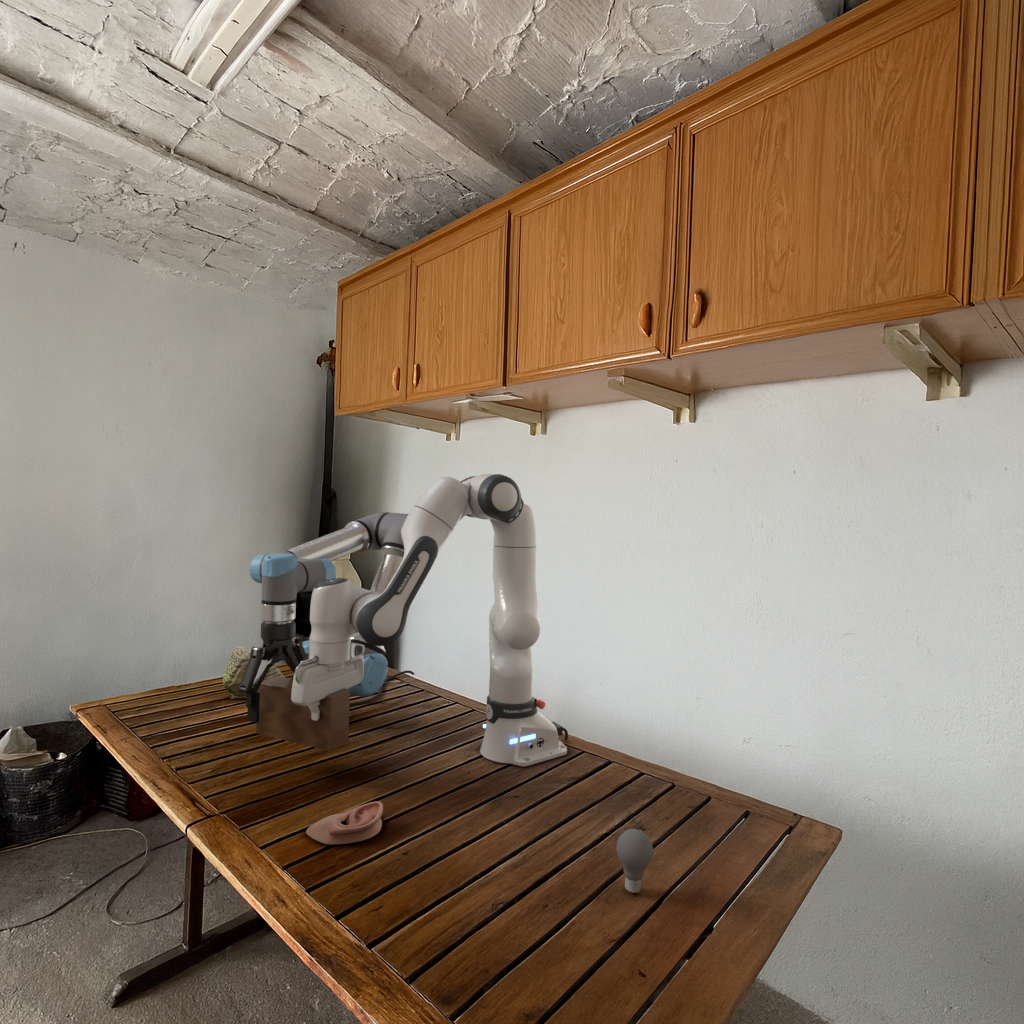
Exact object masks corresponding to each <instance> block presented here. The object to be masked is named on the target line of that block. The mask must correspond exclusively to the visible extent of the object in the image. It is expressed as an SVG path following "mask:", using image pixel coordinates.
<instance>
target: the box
mask: <svg viewBox="0 0 1024 1024" xmlns="http://www.w3.org/2000/svg"><path fill="white" fill-rule="evenodd" d="M292 684H293V679H292V678H289V677H285V676H284V677H280V676H276V677H273V678H270V679H267V680H264V681H263V682H262V683H261V685H260V687H259V689H258V691H257V692H258V693H260V708H259V722H258V723H255V734H257V735H261V736H265V737H270V738H273V739H276V740H277V739H278V740H282V741H285V742H290V743H295V744H298V745H303V746H306V747H310V748H315V749H320V750H323V751H328V752H332V751H333V750H335V749H337V748H339V747H341V746H343V745H344V744H347V743H348V742H349V739H350V738H349V737H350V732H349V731H350V706H349V703H351V701H350V699H351V695H350V690H349V689H342V690H340V691H337V692H335V693H332V694H330V695H327V696H326V698H324V699H321V700H320V704H319V705H318V708H319V710H320V711H322V718H321V719H319V720H317V721H315V720H312V719H311V711H310V709H309V707H308V705H307V706H300V705H296V704H294V703H293V702H292V700H291V692H292Z"/></svg>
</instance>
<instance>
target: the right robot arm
mask: <svg viewBox="0 0 1024 1024" xmlns="http://www.w3.org/2000/svg"><path fill="white" fill-rule="evenodd" d="M407 514H408V516H407V518H406V520H405V522H404V524H403V527H402V529H401V537H402V541H403V544H404V557H403V560H402V562H401V564H400V566H399V567H398V569H397V571H396V572H395V574H394V576H393V577H392V579H391V581H390V583H389V584H388V586H387V588H386V589H385V591H384V592H383V593H382V594H379V593H376V592H373V591H370V589H366V588H363V587H361V586H359V585H357V584H355V583H353V582H352V581H351V580H349V579H348V578H344V577H336V578H333V579H328V580H324V581H322V582H320V583H318V584H317V585H316V586H315V587H314V589H313V590H312V591H311V592H312V593H311V597H310V606H309V607H310V608H309V622H310V626H311V628H310V629H311V631H310V634H309V637H308V640H309V659H307V660H303V661H301V662H300V664H299V665H298V667H297V668H296V670H295V674H294V673H293V676H294V678H293V684H292V692H291V700H292V702H293V703H294V704H296V705H300V706H307V705H308V707H309V709H310V711H311V719H312V720H315V721H317V720H319V719H321V718H322V711H320V710H319V708H318V705H319V704H320V700H321V699H324V698H326V696H327V695H330V694H332V693H335V692H337V691H340V690H342V689H349V688H350V687H353V686H355V685H358V684H360V683H361V682H362V679H363V676H364V658H363V655H362V654H363V653H364V651H365V647H364V645H362V644H357V643H351V635H352V634H353V633H359V634H360V635H361V637H362V638H363V639H364V640H365V641H366V642H367V643H369V644H371V645H374V646H384V647H385V646H388V645H391V644H392V643H394V642H395V641H397V640H398V639H399V638H400V637H401V635H402V634H403V632H404V630H405V627H406V623H407V619H408V614H409V610H410V607H411V605H412V603H413V601H414V600H415V597H416V596H417V594H418V592H419V591H420V589H421V587H422V585H423V584H424V582H425V580H426V579H427V576H428V575H429V573H430V571H431V569H432V568H433V565H434V563H435V561H436V559H437V557H438V556H439V554H440V552H441V551H442V549H443V547H444V545H446V543H447V541H448V540H449V539H450V537H451V535H452V534H453V532H454V531H455V529H456V527H457V526H458V524H459V522H461V520H462V519H464V517H465V516H466V517H469V518H475V519H480V520H489V522H490V524H491V525H492V529H493V546H492V547H493V549H492V551H493V552H492V582H493V595H494V596H493V597H494V603H493V604H492V605H491V607H490V611H489V615H488V616H489V617H488V626H489V627H488V637H489V638H488V643H489V644H488V645H489V649H488V650H489V679H488V680H489V681H488V682H489V683H488V695H487V697H486V707H485V716H486V718H485V719H486V722H485V723H484V724H482V728H483V729H485V730H484V733H483V734H484V735H483V739H482V742H481V746H480V748H479V753H480V754H481V756H483V757H484V758H485V759H487V760H490V761H492V762H496V763H500V764H501V763H502V764H509V765H514V766H518V767H529V766H532V765H535V764H539V763H542V762H546V761H549V760H553V759H556V758H559V757H563V756H566V755H568V747H567V746H566V745H565V743H563V742H562V741H561V740H559V737H560V736H561V737H563V732H564V740H565V741H568V740H569V732H568V730H567V729H566V727H563V726H562V725H561V724H559V723H557V722H555V721H550V720H549V719H548V718H547V717H546V716H544V715H543V714H542V713H541V712H539V711H538V709H539V710H544V709H545V707H546V702H545V701H544V700H542V699H538V698H536V697H534V696H533V681H534V663H533V654H532V653H533V652H532V646H534V645H535V644H536V643H537V641H538V640H539V637H540V634H541V623H540V621H541V620H540V604H539V592H538V583H537V582H538V581H537V560H538V559H537V556H538V555H537V554H538V547H537V546H538V537H537V536H538V535H537V525H536V517H535V513H534V510H533V509H532V507H530V505H528V504H526V503H524V500H523V498H522V494H521V490H520V488H519V486H518V484H517V483H516V482H515V480H514V479H512V478H511V477H509V476H507V475H505V474H499V473H497V474H496V473H495V474H493V473H482V474H479V475H473V476H469V477H466V478H464V479H463V480H461V481H460V480H458V479H456V478H455V477H452V476H451V477H450V476H442V477H438V478H437V479H436V480H435V481H434V482H432V484H430V486H429V487H428V488H427V489H426V490H425V491H424V492H423V493H422V494H421V496H420V497H419V498H418V500H417V501H416V503H415V504H414V505H413V506H412V508H411V509H410V511H409V512H408V513H407Z"/></svg>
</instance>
